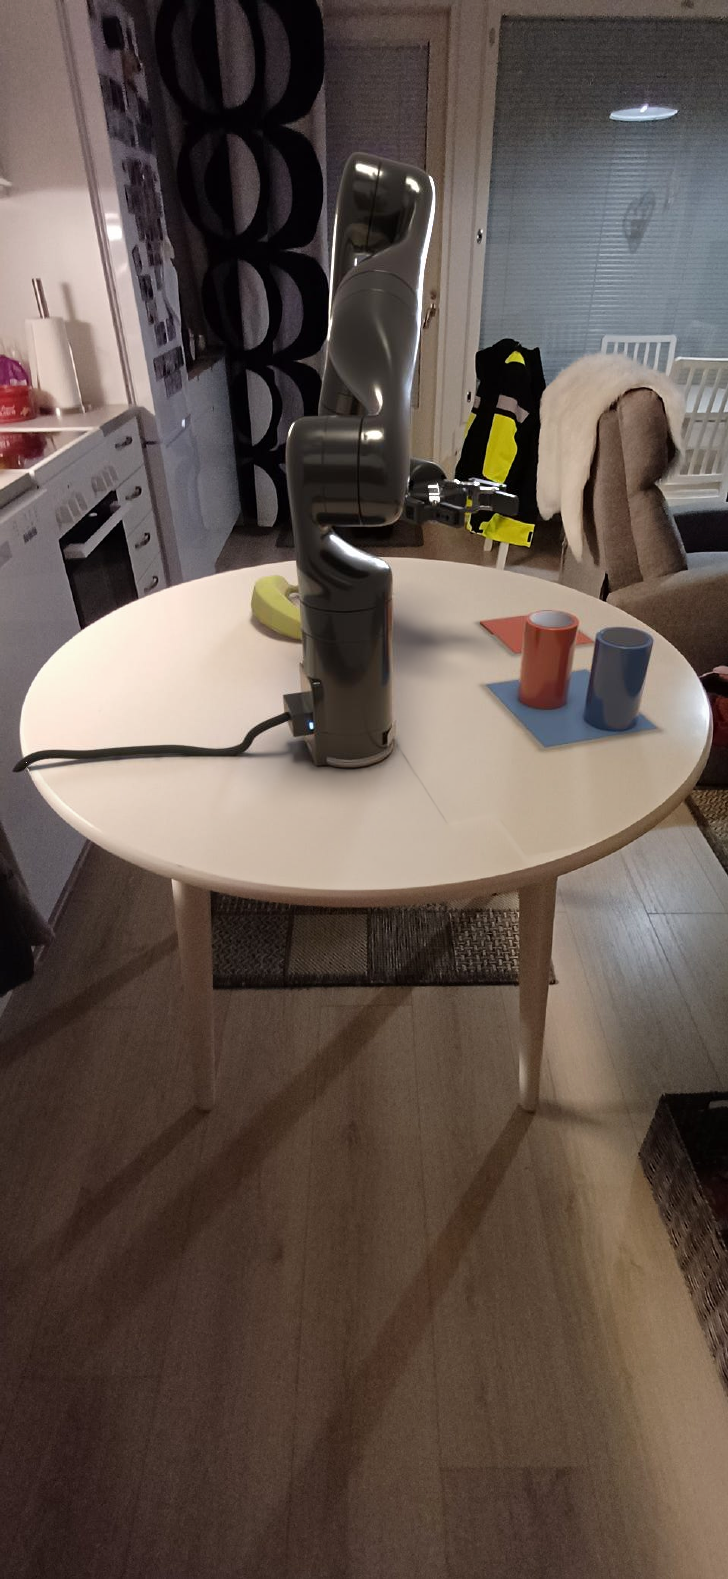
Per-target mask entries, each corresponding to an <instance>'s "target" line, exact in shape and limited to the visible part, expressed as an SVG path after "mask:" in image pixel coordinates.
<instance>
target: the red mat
mask: <svg viewBox="0 0 728 1579" xmlns="http://www.w3.org/2000/svg"><path fill="white" fill-rule="evenodd" d="M527 615H528V614H527ZM527 615H520V616H512V617H503V618H496V619H495V618H494V619H489V620H481V621H479V624H480V625H481V626H483V628H484V629H486V631H488V632H489V634H491V635H494V636H495V637H496V638H497V639H498V640H499V641H501V643H503V644H504V645H505V646H506V647H507V648H508V649H509V650H511V651H512V652H513V653H514V654H522V646H523V636H524V626H525V618H526V616H527ZM585 644H595V640H592V639H591V638H590V637H588V636H587V635H585V634H584V633H583V632H582V631H580V630H579V629H578V633H577V640H576V646H580V645H585Z"/></svg>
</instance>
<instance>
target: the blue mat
mask: <svg viewBox="0 0 728 1579" xmlns="http://www.w3.org/2000/svg"><path fill="white" fill-rule="evenodd" d="M589 675H590V671H588V670H587V669H582V670H574V671H572V675H571V682H570V688H569V695H568V701H567V703H566V704H565V705H564V706H562V707H560V708H557V709H549V710H543V709H535V708H531V707H528V706H526V705H524V704H522V703H521V702H520V701H519V700H518V697H517V694H518V684H519V679H514V680H508V681H501V682H494V683H488V684H485V686H486V687H487V688H488V689H489V690H490V692H492V693H493V694H494V695H495V696H496V697H497V699H499V701H500V702H501V703H502V704H503V705H504V706H505V707H506V708H507V709H508V711H510V713H512V714H513V716H514V717H516V719H517V720H518V721H519V722H520V723H521V724H522V725H523V726H524V727H525V728H526V730H528V732H530V734H531V735H532V736H533V737H534V738H535V739H536V740H537V741H538V742H539V743H540V744H541V746H543V748H550V747H556V746H562V745H567V744H573V743H579V742H584V741H590V740H596V739H602V738H609V737H613V736H619V735H625V734H631V733H637V732H642V731H650V730H655V729H658V726H656V725H655V724H654V723H652V721H650V720H649V719H647V718H646V717H645V716H644V715H643V714H642V713H641V712H639V715H638V720H637V724H636V725H635V726H634V727H633V728H631V729H629V730H625V731H606V730H601V729H598V728H595V727H593V726H591V725H589V724H588V723H587V722H586V721H585V720H584V718H583V712H584V706H585V700H586V694H587V687H588V681H589Z"/></svg>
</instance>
